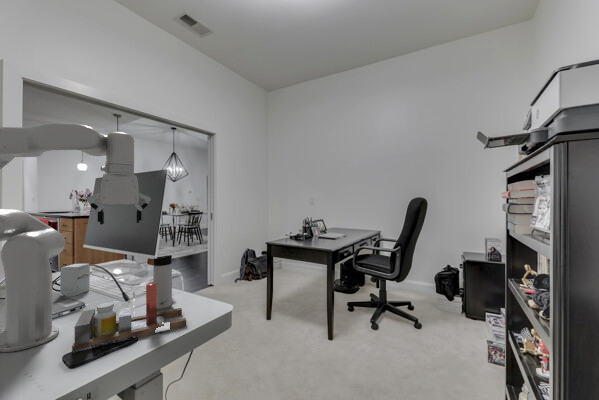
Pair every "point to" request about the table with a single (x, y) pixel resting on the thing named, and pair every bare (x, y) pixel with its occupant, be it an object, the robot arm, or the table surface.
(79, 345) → the vise bench
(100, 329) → the supplement bottle
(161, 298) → the travel mug
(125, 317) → the vise slider
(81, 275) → the supplement box
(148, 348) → the table surface
